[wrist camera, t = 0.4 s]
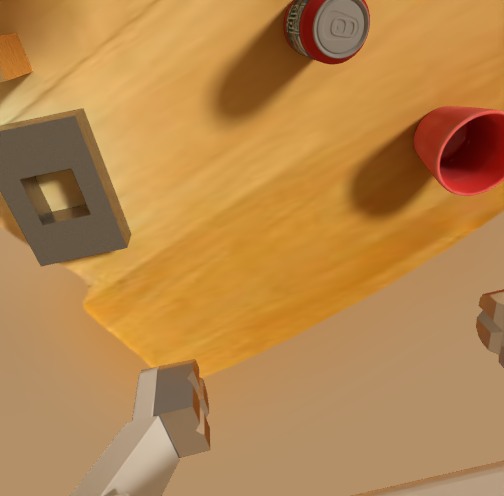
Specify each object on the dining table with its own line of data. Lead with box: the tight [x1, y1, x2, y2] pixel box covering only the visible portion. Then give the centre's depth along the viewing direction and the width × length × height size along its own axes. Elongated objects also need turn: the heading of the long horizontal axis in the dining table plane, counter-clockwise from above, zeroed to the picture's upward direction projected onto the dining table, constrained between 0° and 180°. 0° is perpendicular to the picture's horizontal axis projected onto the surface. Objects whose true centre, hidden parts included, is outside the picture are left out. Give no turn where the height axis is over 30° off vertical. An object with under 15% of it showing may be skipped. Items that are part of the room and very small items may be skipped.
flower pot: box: [414, 106, 504, 196], centre depth 53 cm, size 11×11×10 cm
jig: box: [0, 109, 131, 266], centre depth 52 cm, size 18×12×4 cm, turn 10°
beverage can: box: [284, 0, 370, 64], centre depth 43 cm, size 7×7×12 cm
